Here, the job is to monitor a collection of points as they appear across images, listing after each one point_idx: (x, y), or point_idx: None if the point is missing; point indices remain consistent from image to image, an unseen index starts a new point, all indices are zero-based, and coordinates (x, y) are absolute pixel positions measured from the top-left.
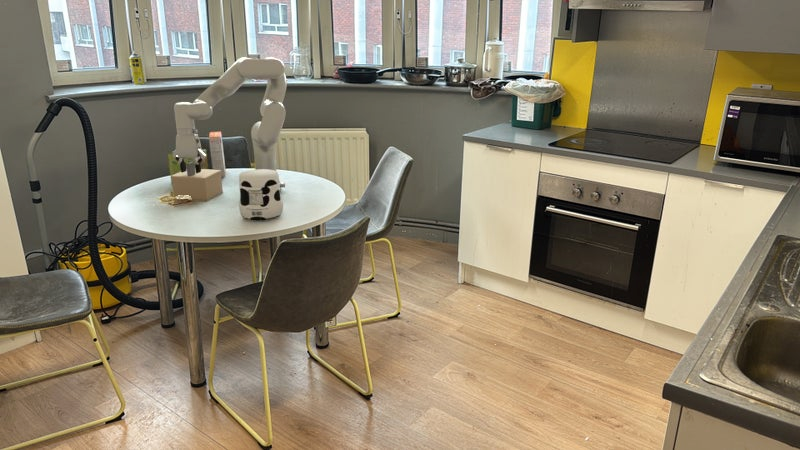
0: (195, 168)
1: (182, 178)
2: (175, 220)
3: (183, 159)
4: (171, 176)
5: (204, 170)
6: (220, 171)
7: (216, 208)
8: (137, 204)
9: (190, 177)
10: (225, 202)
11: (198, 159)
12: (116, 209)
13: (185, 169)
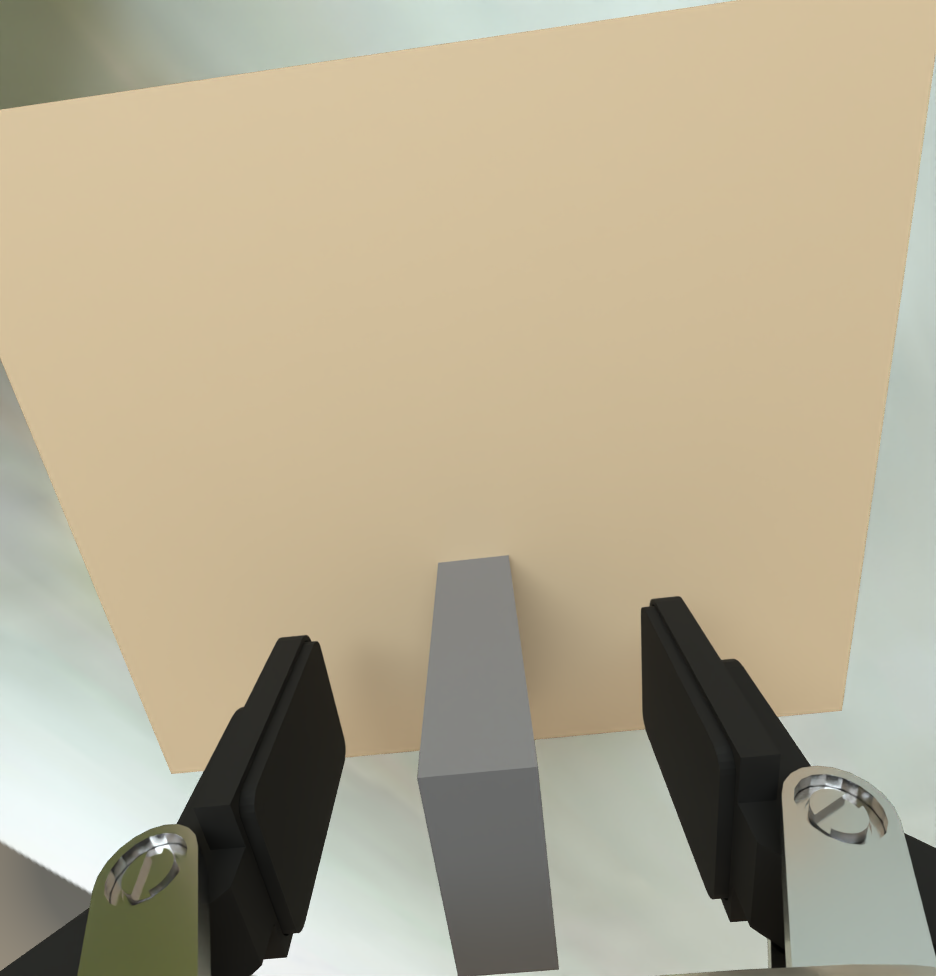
0: (682, 811)
1: None
2: (690, 931)
3: (179, 956)
4: (186, 765)
5: (501, 198)
6: (917, 25)
7: (878, 664)
8: (117, 768)
9: (549, 730)
10: (895, 488)
11: (851, 941)
12: (92, 887)
13: (317, 694)
